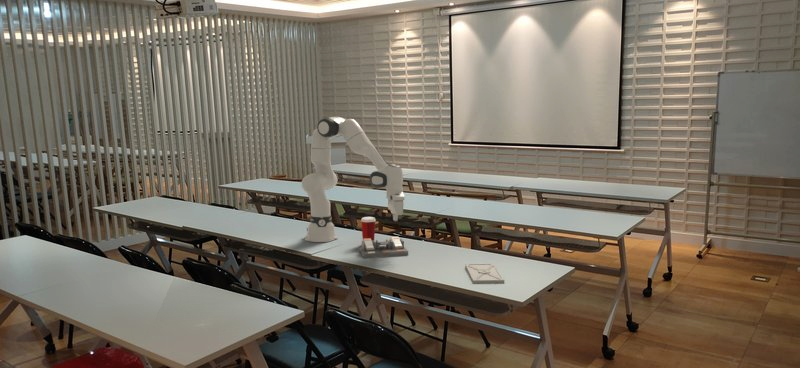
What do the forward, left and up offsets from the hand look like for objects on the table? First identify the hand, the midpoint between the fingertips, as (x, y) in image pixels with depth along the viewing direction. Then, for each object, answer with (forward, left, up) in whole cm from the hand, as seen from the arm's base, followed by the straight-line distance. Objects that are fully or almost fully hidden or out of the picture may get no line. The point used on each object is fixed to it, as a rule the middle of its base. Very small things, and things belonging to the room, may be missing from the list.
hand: (395, 220), depth 311 cm
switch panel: (+6, -8, -16) cm, 18 cm away
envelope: (+54, +29, -17) cm, 64 cm away
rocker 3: (+4, 0, -11) cm, 12 cm away
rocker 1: (+4, -15, -11) cm, 19 cm away
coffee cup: (-13, -12, -16) cm, 24 cm away
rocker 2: (+4, -8, -11) cm, 14 cm away
